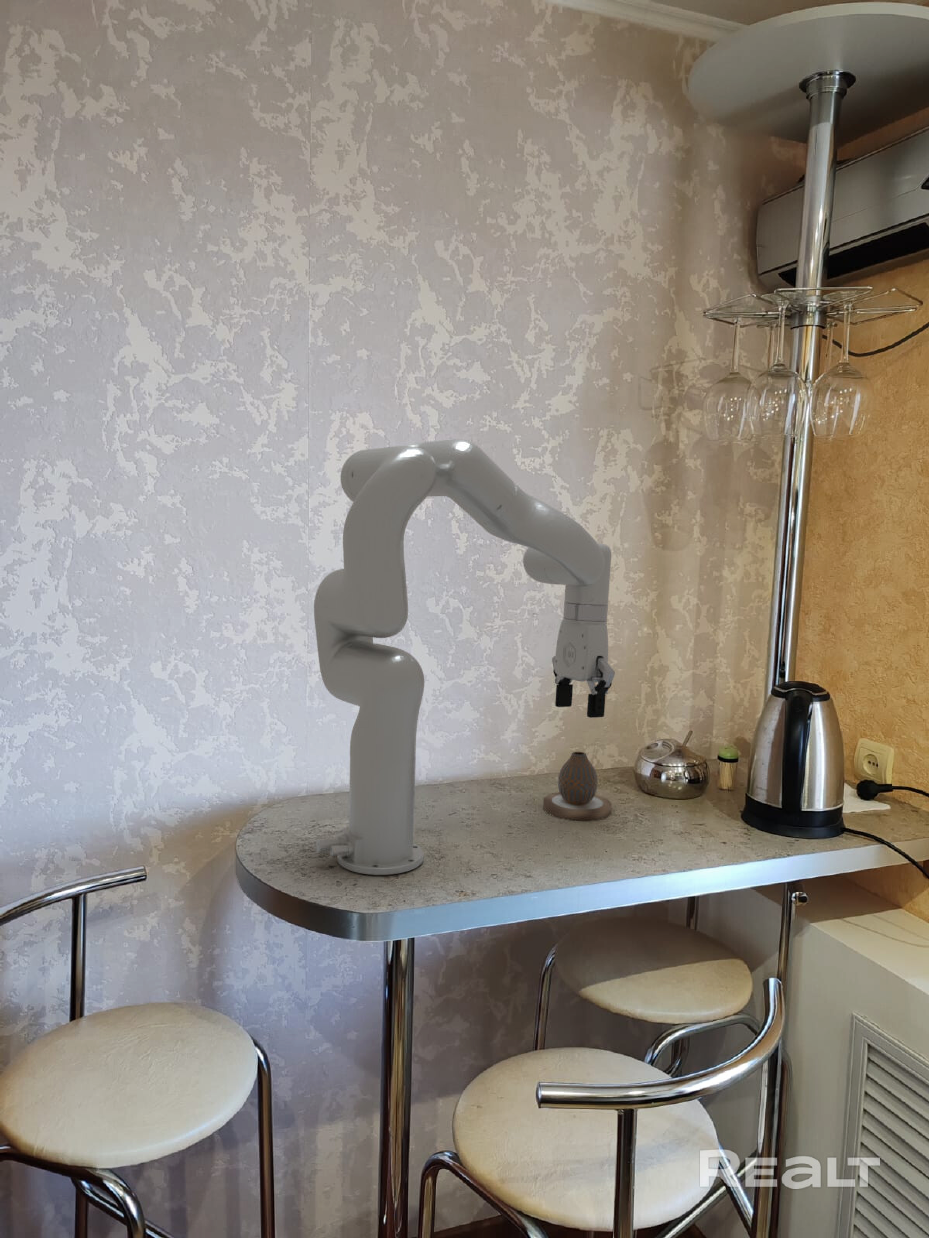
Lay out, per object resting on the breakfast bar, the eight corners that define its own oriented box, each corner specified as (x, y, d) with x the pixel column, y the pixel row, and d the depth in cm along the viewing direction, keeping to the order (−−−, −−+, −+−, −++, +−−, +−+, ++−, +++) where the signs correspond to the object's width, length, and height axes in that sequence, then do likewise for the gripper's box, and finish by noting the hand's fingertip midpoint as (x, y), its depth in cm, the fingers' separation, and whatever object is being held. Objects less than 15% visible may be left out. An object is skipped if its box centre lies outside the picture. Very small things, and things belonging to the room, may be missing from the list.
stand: (567, 824, 149) (568, 815, 149) (530, 804, 160) (530, 795, 160) (625, 815, 155) (625, 807, 155) (585, 796, 165) (585, 788, 165)
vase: (602, 800, 158) (605, 752, 157) (586, 810, 152) (589, 760, 151) (567, 793, 162) (569, 746, 161) (550, 802, 156) (552, 753, 155)
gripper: (540, 609, 160) (534, 703, 161) (597, 618, 145) (590, 722, 146) (574, 610, 163) (568, 702, 165) (634, 619, 148) (626, 720, 149)
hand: (578, 711), depth 155 cm, fingers open, 9 cm apart
